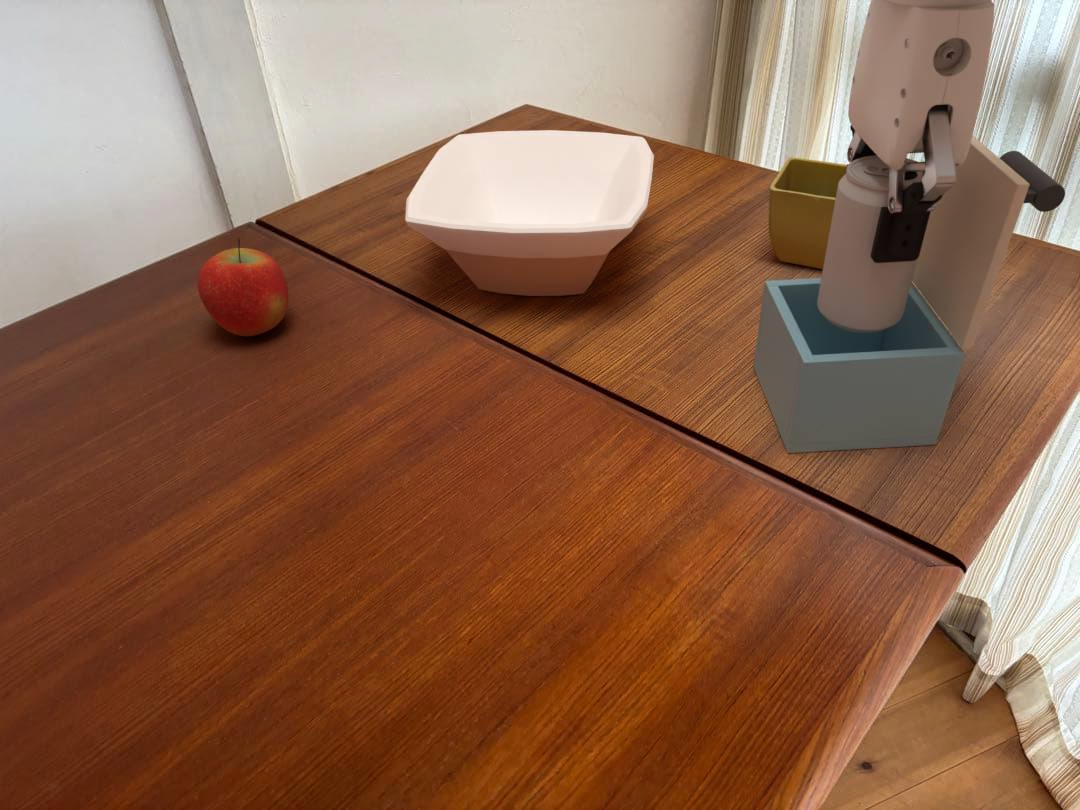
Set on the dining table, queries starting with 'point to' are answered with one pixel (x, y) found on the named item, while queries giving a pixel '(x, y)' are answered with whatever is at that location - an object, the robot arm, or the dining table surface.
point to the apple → (243, 291)
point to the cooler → (852, 373)
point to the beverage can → (862, 254)
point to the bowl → (532, 205)
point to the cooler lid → (977, 234)
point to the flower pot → (803, 210)
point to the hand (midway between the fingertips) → (876, 234)
